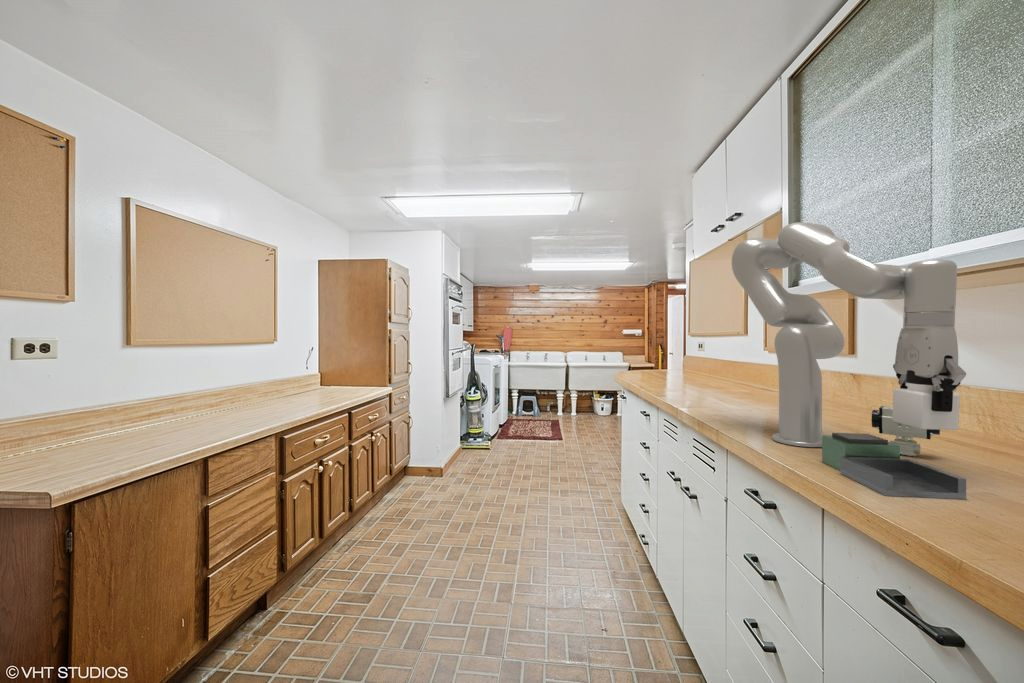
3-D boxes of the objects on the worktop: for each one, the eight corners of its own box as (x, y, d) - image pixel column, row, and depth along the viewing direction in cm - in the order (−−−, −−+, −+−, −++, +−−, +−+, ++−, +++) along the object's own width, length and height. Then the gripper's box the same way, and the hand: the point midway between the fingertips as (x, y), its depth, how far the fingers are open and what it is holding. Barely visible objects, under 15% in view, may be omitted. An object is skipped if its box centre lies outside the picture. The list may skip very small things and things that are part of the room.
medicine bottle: (959, 430, 83) (962, 370, 83) (921, 429, 83) (923, 369, 83) (926, 422, 90) (928, 366, 90) (891, 421, 91) (893, 365, 90)
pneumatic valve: (874, 448, 106) (874, 400, 106) (940, 457, 98) (940, 405, 98) (870, 452, 102) (870, 402, 102) (939, 462, 94) (939, 408, 94)
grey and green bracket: (816, 461, 94) (816, 431, 94) (877, 464, 92) (877, 433, 92) (885, 495, 73) (885, 456, 73) (966, 499, 72) (966, 459, 72)
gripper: (877, 322, 95) (874, 399, 96) (944, 320, 78) (940, 415, 79) (914, 322, 94) (911, 400, 95) (991, 321, 77) (986, 417, 78)
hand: (924, 406), depth 87 cm, fingers closed on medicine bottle, 7 cm apart
